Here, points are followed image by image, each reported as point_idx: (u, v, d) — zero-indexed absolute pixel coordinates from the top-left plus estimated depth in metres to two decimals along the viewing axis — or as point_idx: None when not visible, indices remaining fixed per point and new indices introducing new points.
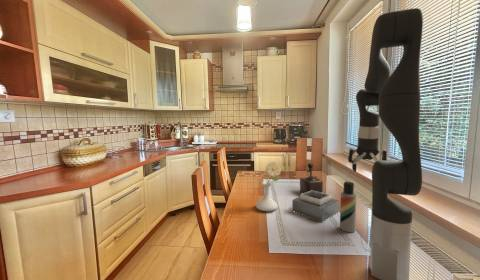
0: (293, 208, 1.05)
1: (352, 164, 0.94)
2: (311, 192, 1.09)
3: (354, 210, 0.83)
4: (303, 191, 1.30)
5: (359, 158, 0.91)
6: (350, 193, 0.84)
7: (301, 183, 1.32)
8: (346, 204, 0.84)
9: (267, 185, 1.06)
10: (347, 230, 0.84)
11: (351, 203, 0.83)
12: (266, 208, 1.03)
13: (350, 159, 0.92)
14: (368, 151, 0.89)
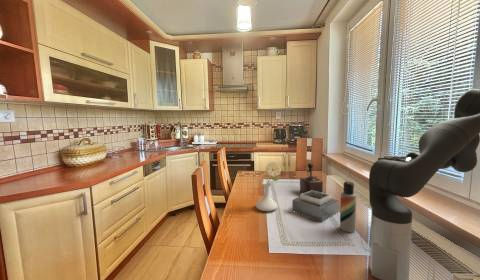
0: (293, 208, 1.05)
1: None
2: (311, 192, 1.09)
3: (354, 210, 0.83)
4: (303, 191, 1.30)
5: (395, 156, 0.88)
6: (350, 193, 0.84)
7: (301, 183, 1.32)
8: (346, 204, 0.84)
9: (267, 185, 1.06)
10: (347, 230, 0.84)
11: (351, 203, 0.83)
12: (266, 208, 1.03)
13: (387, 156, 0.91)
14: None
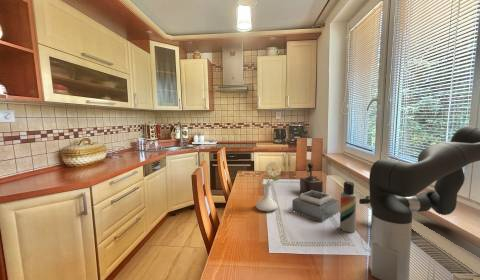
0: (293, 208, 1.05)
1: None
2: (311, 192, 1.09)
3: (354, 210, 0.83)
4: (303, 191, 1.30)
5: None
6: (350, 193, 0.84)
7: (301, 183, 1.32)
8: (346, 204, 0.84)
9: (267, 185, 1.06)
10: (347, 230, 0.84)
11: (351, 203, 0.83)
12: (266, 208, 1.03)
13: (369, 196, 0.93)
14: None
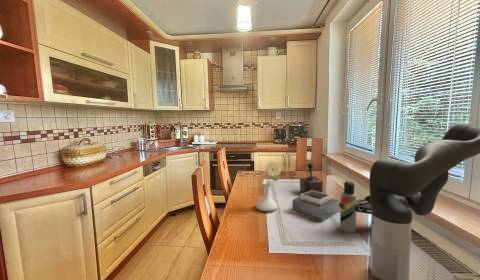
0: (293, 208, 1.05)
1: None
2: (311, 192, 1.09)
3: (354, 210, 0.83)
4: (303, 191, 1.30)
5: None
6: (350, 193, 0.84)
7: (301, 183, 1.32)
8: (346, 204, 0.84)
9: (267, 185, 1.06)
10: (347, 230, 0.84)
11: (351, 203, 0.83)
12: (266, 208, 1.03)
13: None
14: None
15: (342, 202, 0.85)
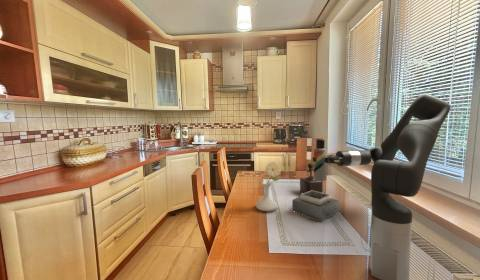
0: (293, 208, 1.05)
1: None
2: (311, 192, 1.09)
3: (324, 162, 0.98)
4: (303, 191, 1.30)
5: None
6: (321, 147, 0.99)
7: (301, 183, 1.32)
8: (317, 157, 0.99)
9: (267, 185, 1.06)
10: (318, 179, 0.99)
11: (321, 155, 0.98)
12: (266, 208, 1.03)
13: None
14: (335, 156, 1.01)
15: (314, 156, 1.00)
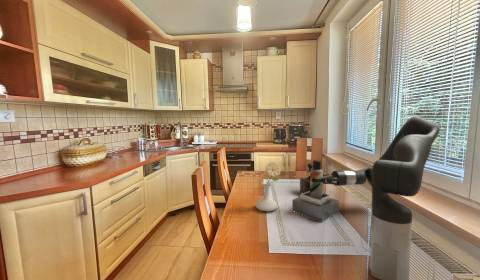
0: (293, 208, 1.05)
1: None
2: None
3: (320, 183, 1.00)
4: (303, 191, 1.30)
5: None
6: (317, 169, 1.01)
7: (301, 183, 1.32)
8: None
9: (267, 185, 1.06)
10: None
11: (317, 177, 1.00)
12: (266, 208, 1.03)
13: None
14: (331, 176, 1.03)
15: (311, 177, 1.03)
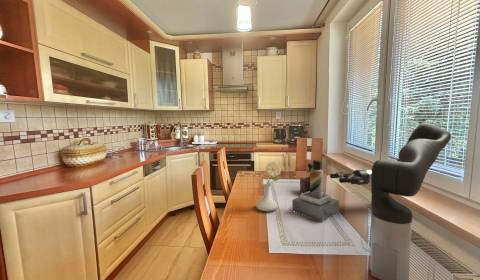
0: (293, 208, 1.05)
1: None
2: None
3: (320, 183, 1.00)
4: (303, 191, 1.30)
5: (343, 173, 1.07)
6: (317, 169, 1.01)
7: (301, 183, 1.32)
8: (313, 178, 1.01)
9: (267, 185, 1.06)
10: None
11: (317, 177, 1.00)
12: (266, 208, 1.03)
13: (338, 172, 1.11)
14: None
15: (311, 177, 1.03)
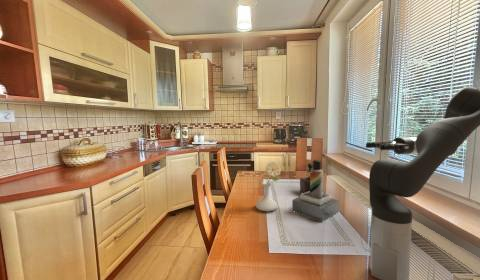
0: (293, 208, 1.05)
1: None
2: None
3: (320, 183, 1.00)
4: (303, 191, 1.30)
5: None
6: (317, 169, 1.01)
7: (301, 183, 1.32)
8: (313, 178, 1.01)
9: (267, 185, 1.06)
10: None
11: (317, 177, 1.00)
12: (266, 208, 1.03)
13: None
14: None
15: (311, 177, 1.03)
